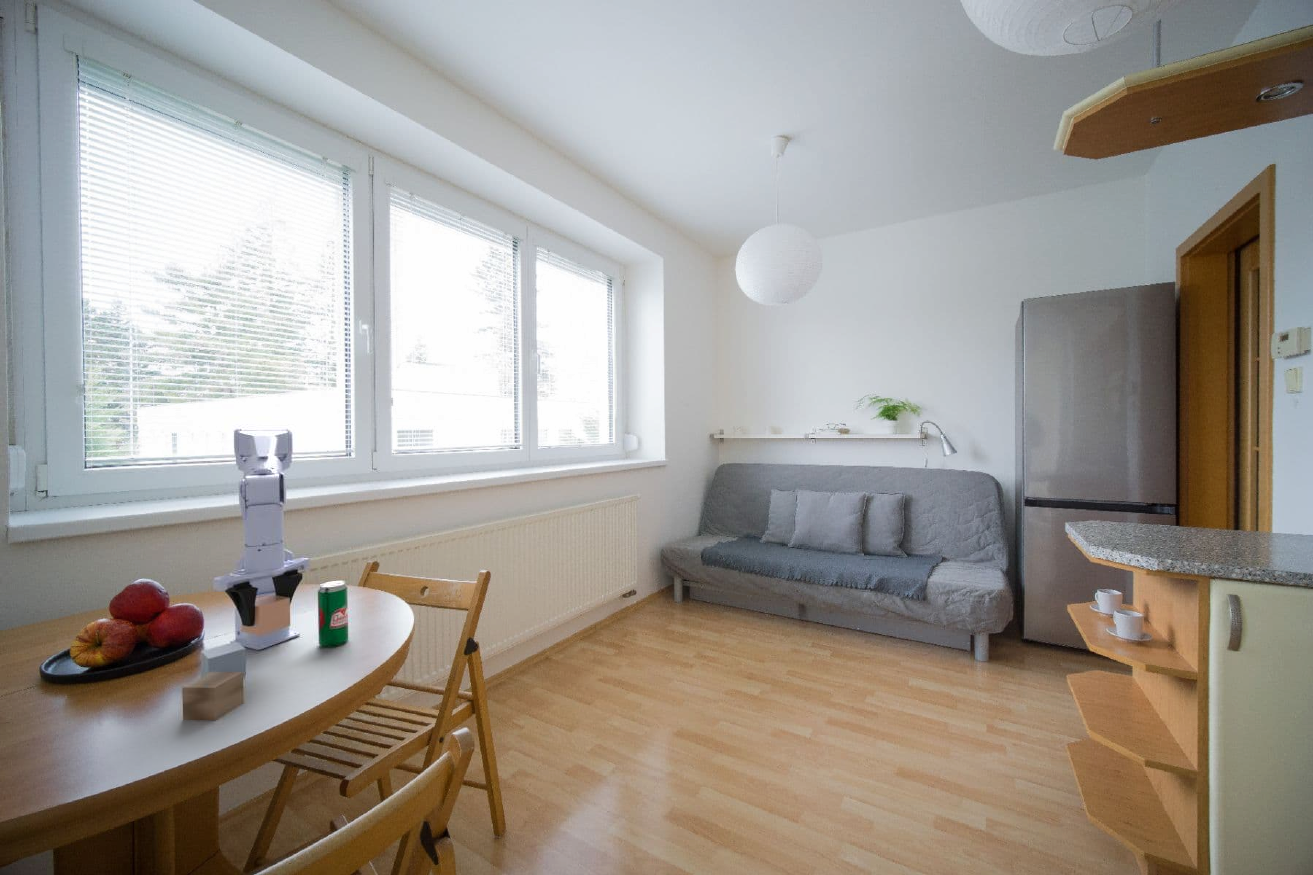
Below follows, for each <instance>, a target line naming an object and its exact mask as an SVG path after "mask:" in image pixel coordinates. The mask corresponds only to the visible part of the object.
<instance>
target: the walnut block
mask: <svg viewBox="0 0 1313 875" xmlns="http://www.w3.org/2000/svg"><path fill="white" fill-rule="evenodd" d="M244 687H245V686H244V677H243V672H211V673H209V674H207V675H205V676H203V677H200V678H199V677H198V678H197V679H196V680H194V681H192V682H190V683H188V684H186V685H184V686H182V687H181V690H182V691H181V692H182V694H181V696H182V698H181V699H182V720H183V721H200V722H201V721H202V722H203V721H205V722H207V721H209V722H210V721H211V722H216V721H217V720H219V719H221V718H222V717H224V716H226V715H227V714H229V713H230V712H231V711H233V710H235V709H237V708H238V707H240V706H242V705H243V704H244V703H245V701H244V700H245V695H244V693H245V692H244Z"/></svg>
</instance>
